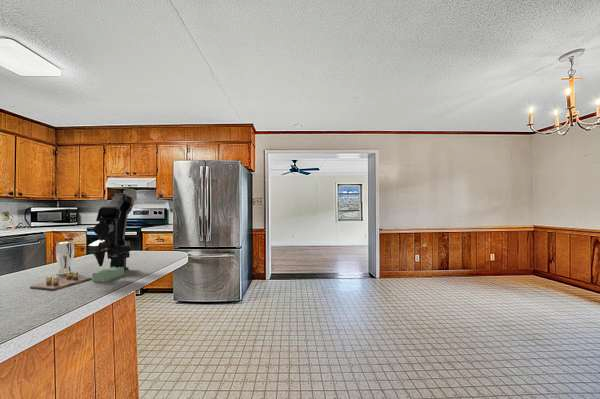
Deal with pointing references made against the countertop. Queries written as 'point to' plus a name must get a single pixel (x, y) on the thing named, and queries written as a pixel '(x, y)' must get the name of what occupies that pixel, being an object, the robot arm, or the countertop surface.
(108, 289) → the countertop surface
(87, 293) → the countertop surface
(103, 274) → the green board
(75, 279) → the walnut base plate
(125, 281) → the countertop surface
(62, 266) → the beer glass
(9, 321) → the countertop surface
